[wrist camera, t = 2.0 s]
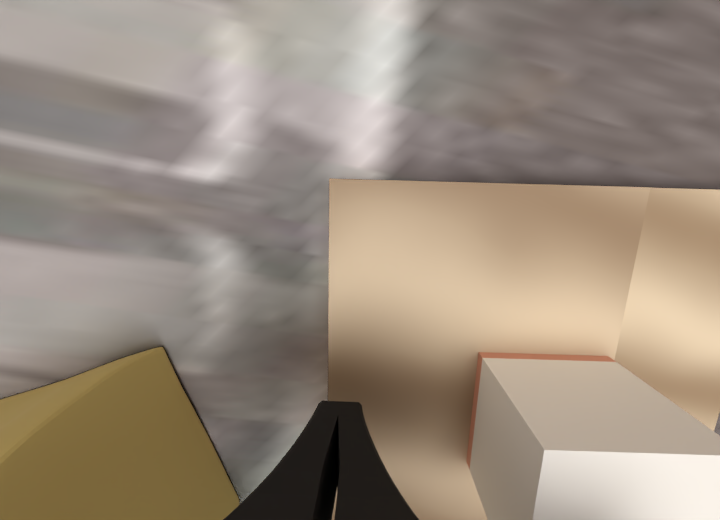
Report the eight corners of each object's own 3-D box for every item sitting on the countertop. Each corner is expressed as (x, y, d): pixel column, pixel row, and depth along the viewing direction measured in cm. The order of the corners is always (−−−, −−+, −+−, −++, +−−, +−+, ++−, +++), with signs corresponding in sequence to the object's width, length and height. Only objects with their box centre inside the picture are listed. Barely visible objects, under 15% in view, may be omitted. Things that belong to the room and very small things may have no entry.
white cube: (585, 464, 13) (698, 608, 9) (466, 461, 13) (518, 603, 9) (608, 355, 12) (748, 456, 8) (478, 352, 12) (544, 449, 8)
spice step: (648, 500, 18) (725, 587, 14) (334, 490, 18) (326, 574, 14) (728, 190, 15) (860, 193, 11) (338, 179, 15) (329, 178, 11)
